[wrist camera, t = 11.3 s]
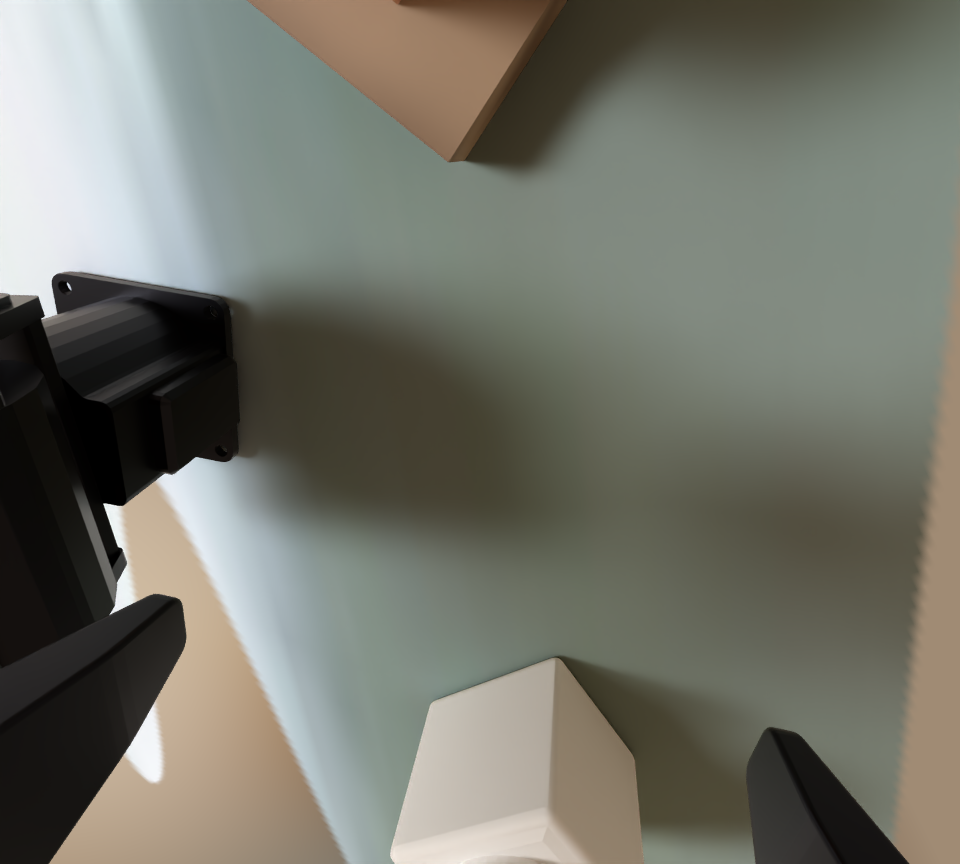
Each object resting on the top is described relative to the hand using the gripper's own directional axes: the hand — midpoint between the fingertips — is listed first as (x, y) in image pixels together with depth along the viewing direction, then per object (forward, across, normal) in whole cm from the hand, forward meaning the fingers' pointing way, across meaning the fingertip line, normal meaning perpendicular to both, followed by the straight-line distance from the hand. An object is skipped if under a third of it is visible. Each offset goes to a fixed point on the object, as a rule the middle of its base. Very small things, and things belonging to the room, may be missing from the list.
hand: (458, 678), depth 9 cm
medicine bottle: (+13, -3, +17) cm, 22 cm away
